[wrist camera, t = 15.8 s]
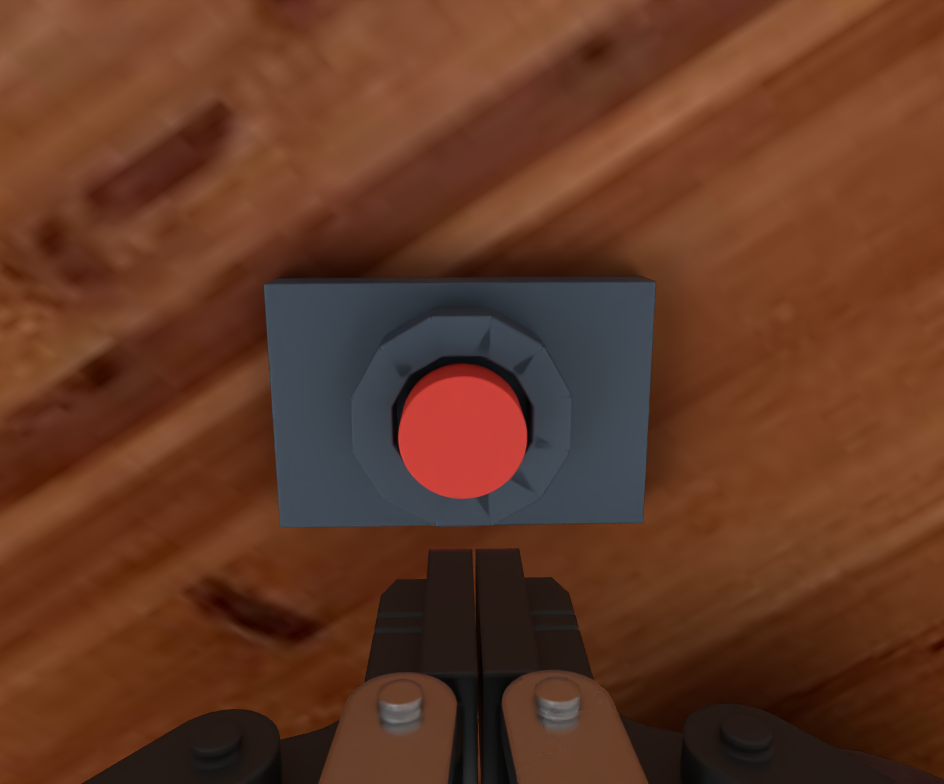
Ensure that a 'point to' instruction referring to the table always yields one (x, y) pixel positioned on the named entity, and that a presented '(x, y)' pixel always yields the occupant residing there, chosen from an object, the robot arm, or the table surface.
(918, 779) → the jug
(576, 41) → the table surface
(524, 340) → the button box
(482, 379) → the button
